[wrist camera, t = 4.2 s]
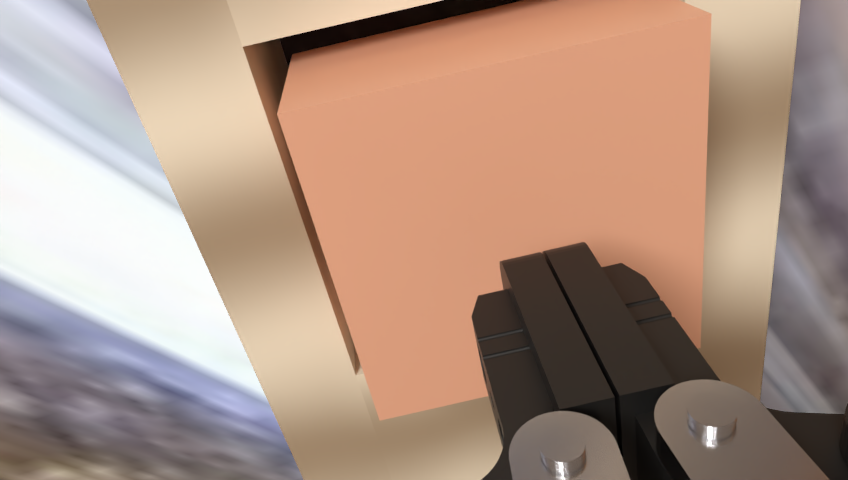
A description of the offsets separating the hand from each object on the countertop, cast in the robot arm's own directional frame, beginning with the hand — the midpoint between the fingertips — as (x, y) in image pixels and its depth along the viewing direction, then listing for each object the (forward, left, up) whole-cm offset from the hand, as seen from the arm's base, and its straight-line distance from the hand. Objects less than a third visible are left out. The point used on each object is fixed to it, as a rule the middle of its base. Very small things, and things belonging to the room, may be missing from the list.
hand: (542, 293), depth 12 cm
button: (0, 0, -6) cm, 6 cm away
